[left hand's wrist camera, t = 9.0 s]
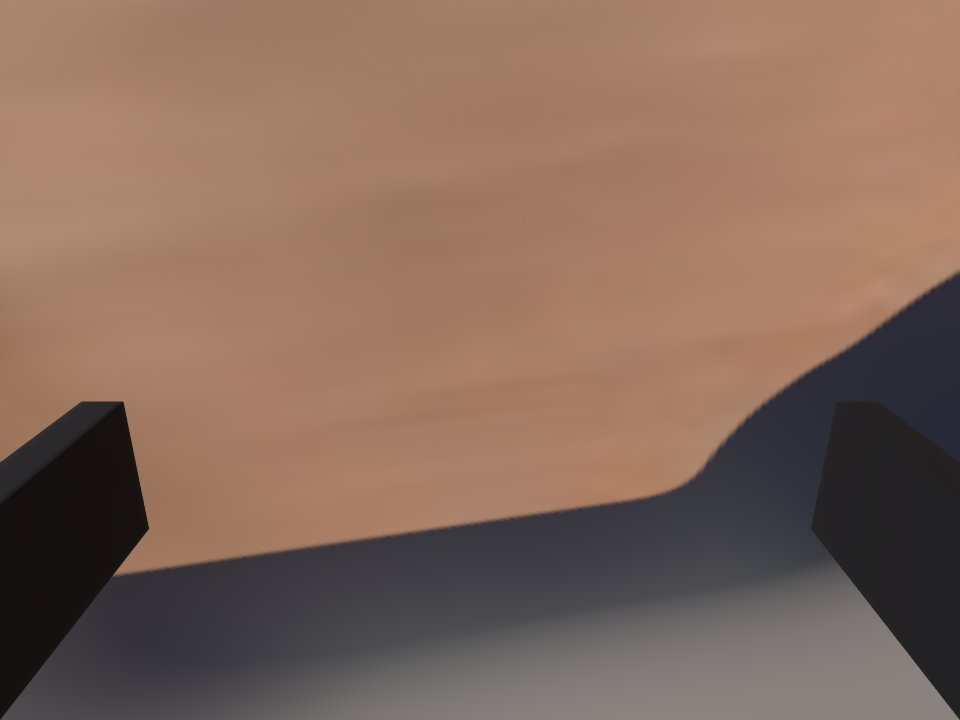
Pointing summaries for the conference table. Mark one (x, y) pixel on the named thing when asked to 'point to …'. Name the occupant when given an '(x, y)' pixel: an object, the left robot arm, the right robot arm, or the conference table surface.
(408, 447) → the conference table surface
